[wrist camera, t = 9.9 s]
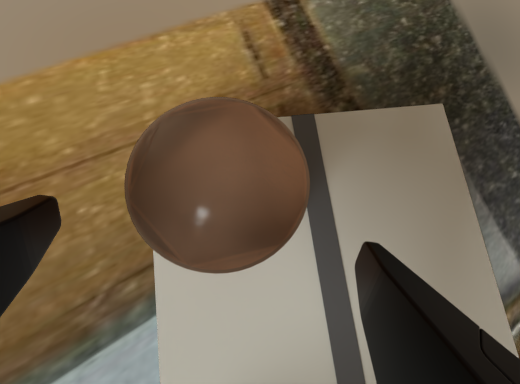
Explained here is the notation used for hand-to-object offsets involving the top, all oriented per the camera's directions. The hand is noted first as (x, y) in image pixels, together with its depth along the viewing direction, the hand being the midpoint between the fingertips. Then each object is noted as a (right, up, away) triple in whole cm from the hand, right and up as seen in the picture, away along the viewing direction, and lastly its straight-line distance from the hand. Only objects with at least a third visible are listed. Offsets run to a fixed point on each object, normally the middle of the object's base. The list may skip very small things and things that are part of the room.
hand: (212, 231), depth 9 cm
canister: (-1, -1, +10) cm, 10 cm away
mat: (+6, -3, +11) cm, 12 cm away
